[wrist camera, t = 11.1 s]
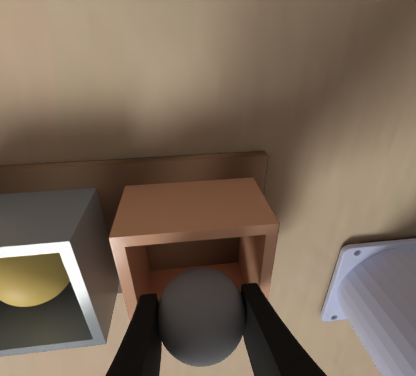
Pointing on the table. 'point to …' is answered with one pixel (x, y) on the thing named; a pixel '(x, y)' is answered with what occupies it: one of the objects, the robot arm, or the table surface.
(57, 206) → the grey open box
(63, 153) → the table surface
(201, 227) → the orange open box
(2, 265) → the ochre ball
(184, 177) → the board
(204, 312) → the grey ball
